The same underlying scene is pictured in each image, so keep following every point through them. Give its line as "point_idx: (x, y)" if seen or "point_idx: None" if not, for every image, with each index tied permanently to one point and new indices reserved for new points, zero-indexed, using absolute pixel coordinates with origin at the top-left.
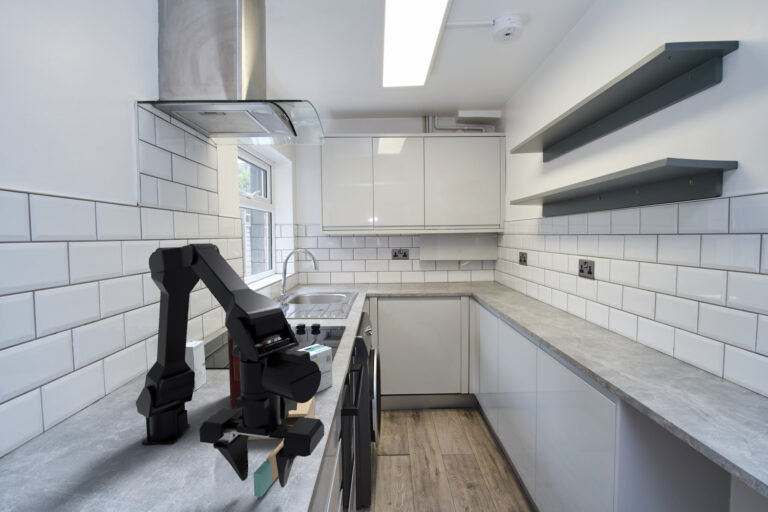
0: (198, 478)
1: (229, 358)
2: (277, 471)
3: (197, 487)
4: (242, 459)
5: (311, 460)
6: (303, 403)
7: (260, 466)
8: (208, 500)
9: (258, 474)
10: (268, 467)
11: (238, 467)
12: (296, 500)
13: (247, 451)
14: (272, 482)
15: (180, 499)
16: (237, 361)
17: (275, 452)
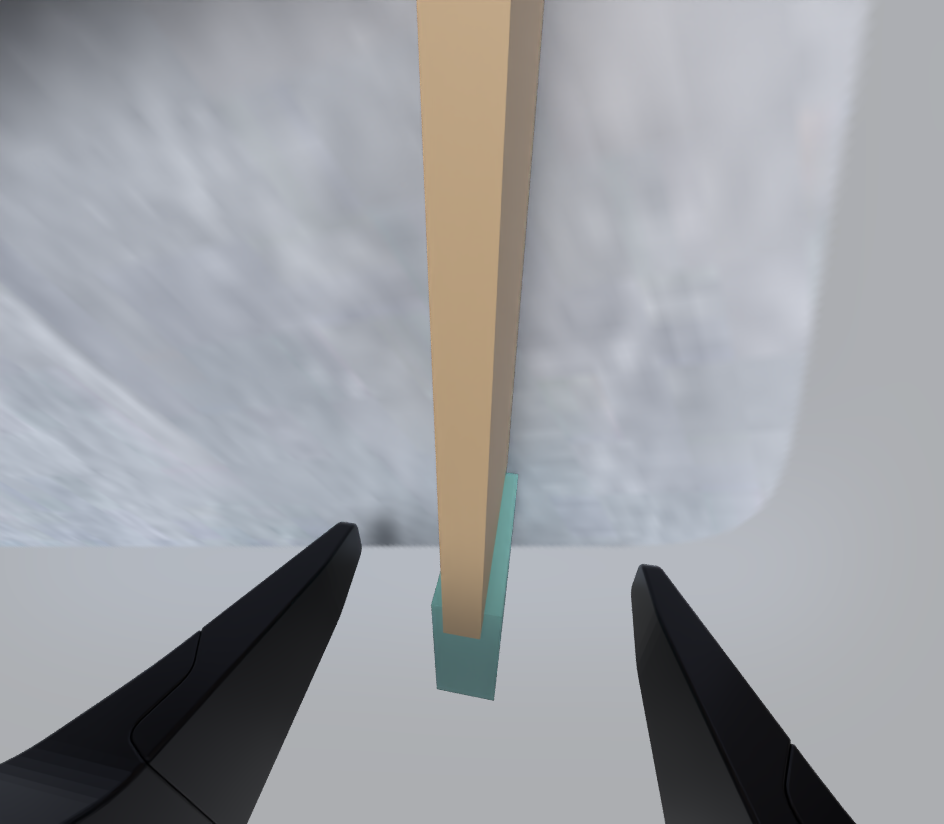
0: (82, 418)
1: None
2: (509, 407)
3: (147, 469)
4: (272, 691)
5: (784, 45)
6: None
7: (440, 650)
8: (268, 526)
9: (477, 692)
10: (501, 623)
11: (305, 690)
12: (713, 520)
13: (230, 681)
14: (508, 446)
15: (164, 524)
16: None
17: (480, 562)
